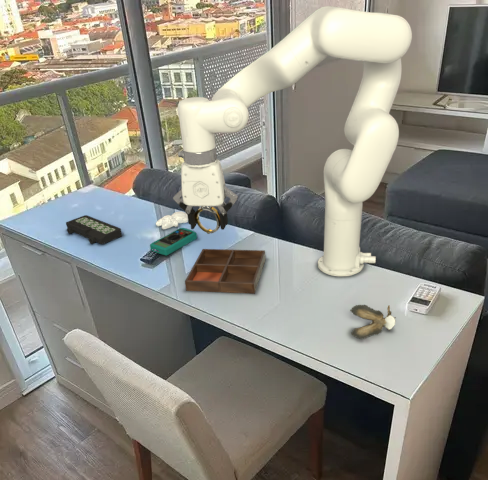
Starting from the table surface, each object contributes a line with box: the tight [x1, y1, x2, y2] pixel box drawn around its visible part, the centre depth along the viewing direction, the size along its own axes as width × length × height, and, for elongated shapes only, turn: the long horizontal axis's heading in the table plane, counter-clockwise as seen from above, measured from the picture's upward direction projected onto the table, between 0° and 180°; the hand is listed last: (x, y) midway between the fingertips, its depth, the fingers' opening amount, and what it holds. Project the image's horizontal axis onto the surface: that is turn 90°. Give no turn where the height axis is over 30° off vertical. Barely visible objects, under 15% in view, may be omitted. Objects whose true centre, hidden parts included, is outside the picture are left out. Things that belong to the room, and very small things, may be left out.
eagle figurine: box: [350, 304, 397, 340], centre depth 110 cm, size 8×7×9 cm
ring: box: [195, 206, 221, 235], centre depth 122 cm, size 7×3×8 cm, turn 58°
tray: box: [184, 248, 267, 295], centre depth 136 cm, size 19×19×3 cm
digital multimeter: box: [149, 227, 198, 257], centre depth 154 cm, size 7×15×3 cm, turn 142°
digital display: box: [65, 214, 123, 245], centre depth 165 cm, size 21×3×10 cm
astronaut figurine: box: [155, 211, 189, 230], centre depth 168 cm, size 9×12×3 cm
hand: (208, 226), depth 123 cm, fingers closed on ring, 7 cm apart
